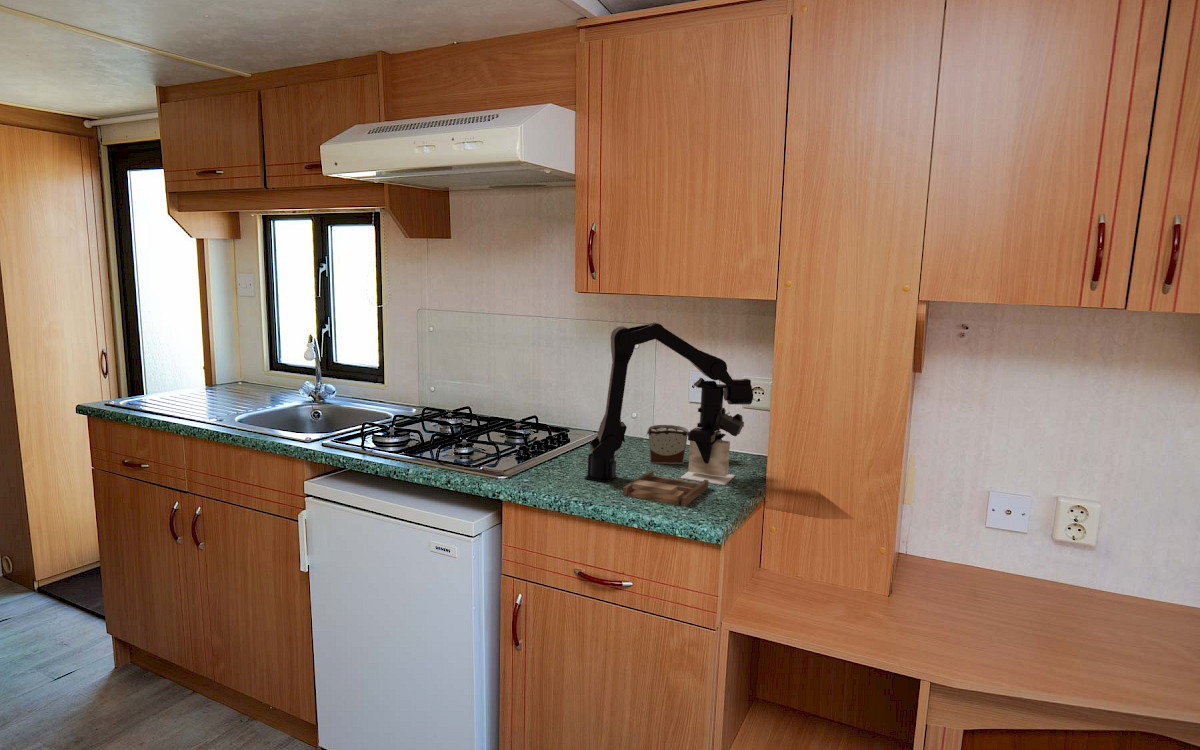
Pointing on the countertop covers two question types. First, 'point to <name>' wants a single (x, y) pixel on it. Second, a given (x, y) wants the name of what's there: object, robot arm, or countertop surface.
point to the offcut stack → (656, 492)
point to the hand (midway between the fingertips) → (708, 461)
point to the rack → (688, 487)
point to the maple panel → (717, 459)
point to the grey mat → (707, 478)
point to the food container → (667, 443)
